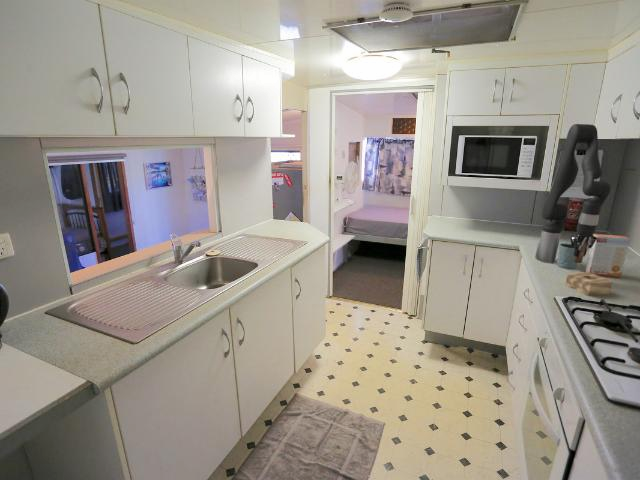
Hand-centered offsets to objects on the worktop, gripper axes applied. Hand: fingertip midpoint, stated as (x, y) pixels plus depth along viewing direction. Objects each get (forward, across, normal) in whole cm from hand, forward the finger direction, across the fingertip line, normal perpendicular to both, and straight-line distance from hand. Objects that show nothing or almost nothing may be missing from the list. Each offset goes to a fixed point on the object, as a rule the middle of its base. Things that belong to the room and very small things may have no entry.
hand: (579, 256), depth 179 cm
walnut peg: (+3, 0, 0) cm, 3 cm away
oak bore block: (+11, +7, +14) cm, 19 cm away
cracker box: (+12, -19, -1) cm, 22 cm away
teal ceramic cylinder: (+12, -10, -14) cm, 21 cm away
